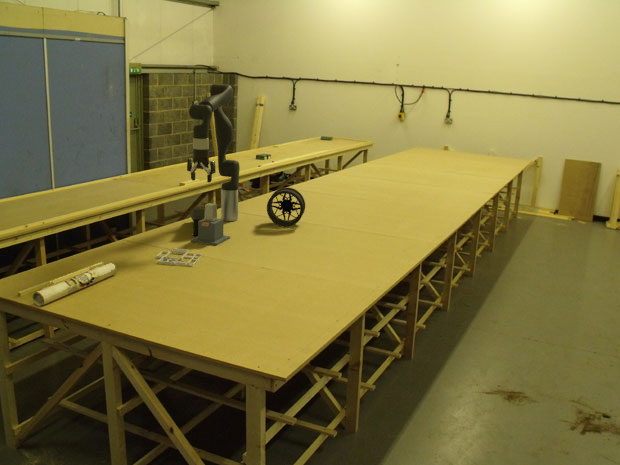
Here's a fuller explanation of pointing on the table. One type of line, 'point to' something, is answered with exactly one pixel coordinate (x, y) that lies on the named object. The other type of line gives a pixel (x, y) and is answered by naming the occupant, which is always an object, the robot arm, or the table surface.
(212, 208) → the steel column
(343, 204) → the table surface
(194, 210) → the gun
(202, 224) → the gray sleeve
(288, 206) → the wheel rim
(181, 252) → the floor plan model
